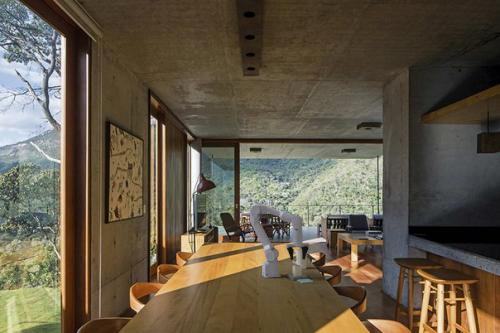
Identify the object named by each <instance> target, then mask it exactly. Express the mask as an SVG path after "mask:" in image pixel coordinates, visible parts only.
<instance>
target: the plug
mask: <svg viewBox="0 0 500 333" xmlns="http://www.w3.org/2000/svg"><path fill="white" fill-rule="evenodd" d="M302 270H303V269H302V268H301V266H300V265H297V264H294V265H293V264H292V274H293V276H302V274H303V273H302V272H303V271H302Z"/></svg>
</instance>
